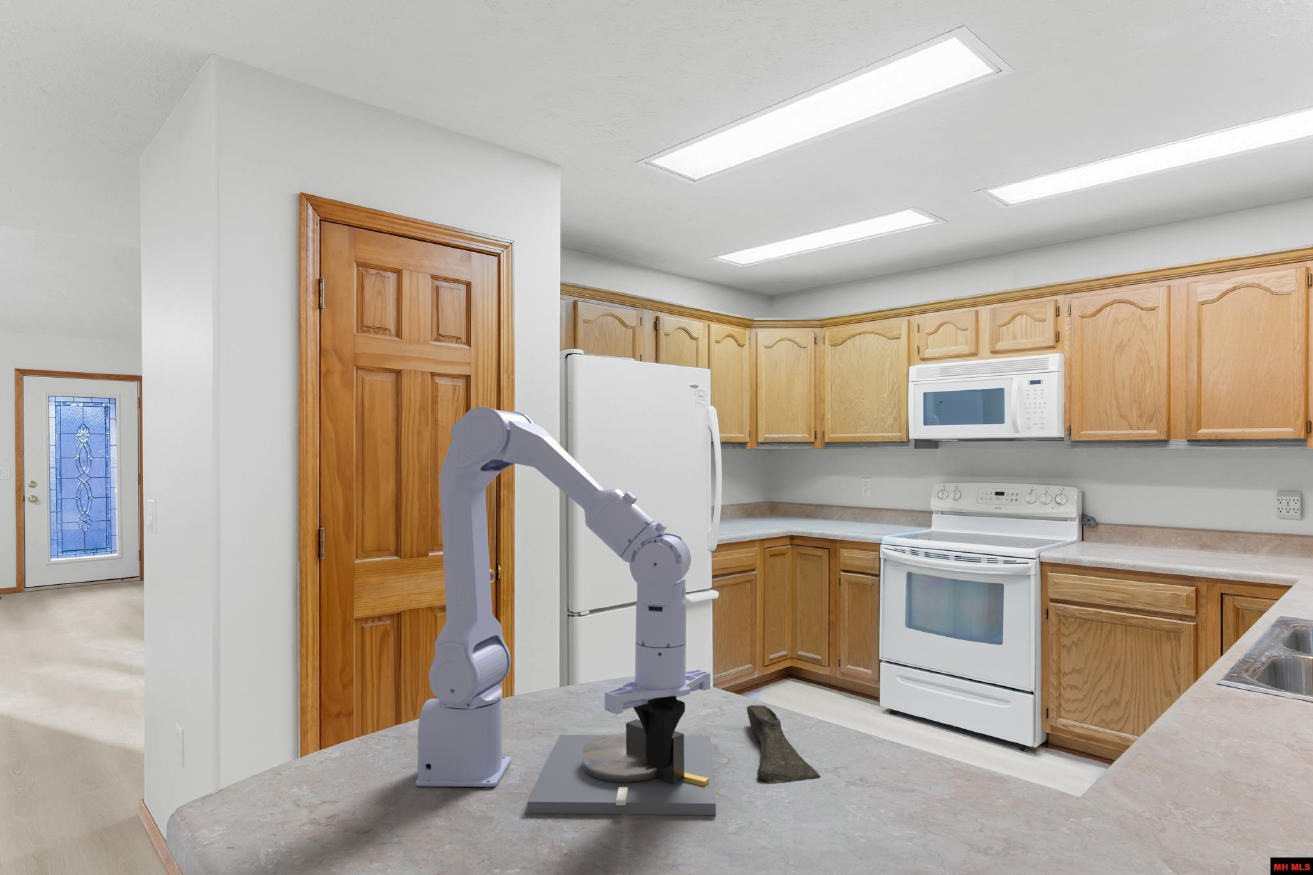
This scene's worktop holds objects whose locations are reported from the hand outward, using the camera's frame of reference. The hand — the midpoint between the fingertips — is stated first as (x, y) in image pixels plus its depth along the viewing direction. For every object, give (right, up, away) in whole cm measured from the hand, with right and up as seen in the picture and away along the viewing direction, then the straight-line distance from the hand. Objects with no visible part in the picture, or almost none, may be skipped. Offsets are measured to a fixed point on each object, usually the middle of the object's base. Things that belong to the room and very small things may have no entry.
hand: (659, 764), depth 84 cm
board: (-4, -4, +5) cm, 7 cm away
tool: (+16, -4, +13) cm, 21 cm away
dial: (-3, -2, +4) cm, 6 cm away
